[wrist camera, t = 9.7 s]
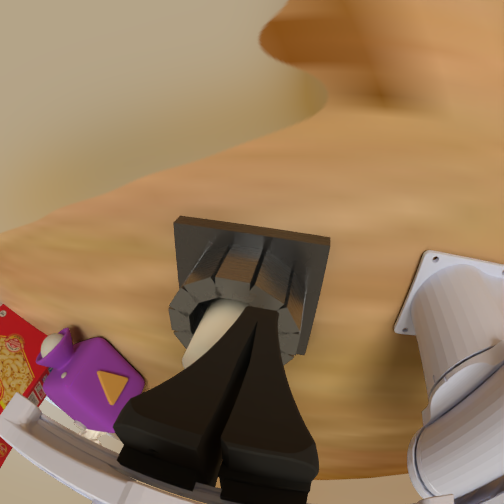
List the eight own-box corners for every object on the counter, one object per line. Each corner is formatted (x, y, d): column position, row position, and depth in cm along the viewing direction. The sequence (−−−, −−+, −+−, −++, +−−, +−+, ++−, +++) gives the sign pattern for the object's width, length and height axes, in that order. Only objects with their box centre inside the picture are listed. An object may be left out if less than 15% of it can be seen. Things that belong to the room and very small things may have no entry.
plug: (274, 291, 21) (256, 358, 16) (267, 335, 23) (249, 399, 18) (212, 278, 22) (179, 339, 17) (211, 322, 24) (185, 382, 19)
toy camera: (75, 302, 32) (25, 360, 24) (158, 376, 36) (125, 440, 27) (54, 330, 37) (16, 377, 29) (123, 390, 41) (94, 441, 32)
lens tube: (330, 237, 21) (330, 281, 17) (305, 345, 27) (299, 392, 23) (180, 215, 23) (146, 250, 19) (189, 322, 29) (167, 363, 24)
